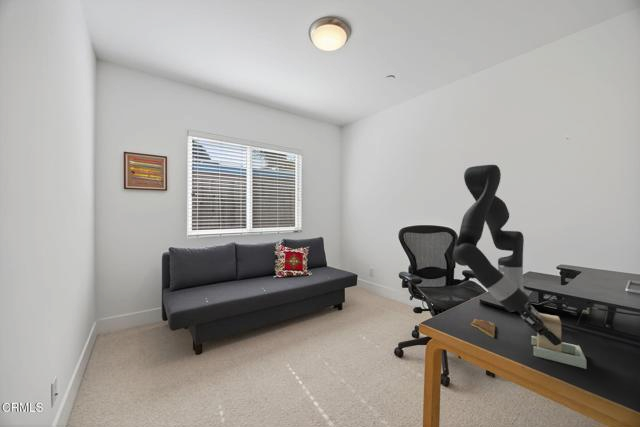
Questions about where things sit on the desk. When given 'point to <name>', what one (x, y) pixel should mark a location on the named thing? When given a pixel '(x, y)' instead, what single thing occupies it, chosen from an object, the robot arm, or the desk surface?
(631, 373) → the desk surface
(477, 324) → the shard
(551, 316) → the oak block
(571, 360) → the tray
